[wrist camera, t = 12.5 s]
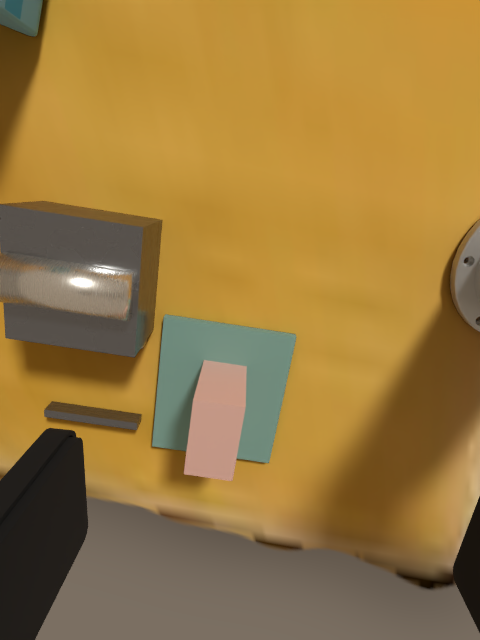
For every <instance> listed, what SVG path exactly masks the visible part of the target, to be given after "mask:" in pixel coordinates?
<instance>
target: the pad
mask: <svg viewBox="0 0 480 640" xmlns="http://www.w3.org/2000/svg"><path fill="white" fill-rule="evenodd" d="M295 341H296V335H295V334H291V333H284V332H278V331H271V330H264V329H258V328H251V327H245V326H238V325H232V324H225V323H219V322H212V321H206V320H199V319H193V318H186V317H179V316H173V315H165V316H164V320H163V331H162V342H161V353H160V364H159V375H158V386H157V398H156V409H155V420H154V431H153V442H152V446H154V447H161V448H168V449H175V450H182V451H187V444H188V436H189V428H190V420H191V412H192V404H193V398H194V395H195V391H196V387H197V384H198V380H199V376H200V373H201V369H202V365H203V362H204V360H208V361H215V362H221V363H228V364H235V365H241V366H247V374H246V408H245V414H244V419H243V425H242V430H241V436H240V441H239V447H238V453H237V459H244V460H251V461H258V462H265V463H269V460H270V456H271V451H272V447H273V442H274V437H275V433H276V428H277V424H278V419H279V414H280V410H281V405H282V401H283V396H284V391H285V387H286V382H287V378H288V373H289V369H290V364H291V359H292V355H293V350H294V346H295Z"/></svg>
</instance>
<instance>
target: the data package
mask: <svg viewBox="0 0 480 640" xmlns="http://www.w3.org/2000/svg"><path fill="white" fill-rule="evenodd" d="M42 3H43V0H0V24H1V25H4V26H6V27H9V28H11V29H13V30H16V31H18V32H21V33H23V34H26V35H29V36H36V35H37V34H38V28H39V21H40V15H41V9H42Z"/></svg>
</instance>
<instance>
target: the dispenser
mask: <svg viewBox="0 0 480 640" xmlns="http://www.w3.org/2000/svg"><path fill="white" fill-rule="evenodd" d="M161 230H162V220H160V219H153V218H147V217H141V216H134V215H128V214H122V213H116V212H109V211H103V210H97V209H90V208H84V207H78V206H71V205H65V204H59V203H53V202H46V201H36V202H22V203H8V204H0V250H1V253H0V302H3V303H4V319H5V336H6V338H8V339H15V340H22V341H28V342H35V343H42V344H48V345H55V346H62V347H68V348H75V349H82V350H89V351H95V352H102V353H109V354H115V355H122V356H129V357H135V356H136V355H137V353H138V352H139V350H140V349H141V348H143V347H144V346H145V344H146V343H147V339H148V337H149V336H150V334H151V333H152V331H153V328H154V316H155V304H156V291H157V279H158V267H159V255H160V242H161ZM44 417H50V418H57V419H64V420H71V421H77V422H84V423H91V424H98V425H105V426H112V427H119V428H126V429H132V430H137V429H138V426H139V424H140V422H141V414H135V413H128V412H121V411H114V410H107V409H101V408H94V407H87V406H80V405H73V404H66V403H60V402H53V401H52V402H51V403H50V404H49V405H48V406H47V407H46V408H45V410H44Z"/></svg>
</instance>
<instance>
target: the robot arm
mask: <svg viewBox="0 0 480 640" xmlns="http://www.w3.org/2000/svg"><path fill="white" fill-rule="evenodd" d="M465 258H466V260H465V262H464V259H465ZM450 290H451V295H452V299H453V302H454V305H455V307H456V309H457V311H458V313H459V314H460V315H461V317H462V318H463V319H464V320H465V322H466V323H468V324H469V325H470V326H471V327H473V328H474V329H475V330H477V331H479V332H480V220H478V221H477V222H476V224H475V225H474V226H473V227H472V228H471V229H470V231H469V232H468V233H467V234H466V236H465V238H464V239H463V241H462V242H461V244H460V246H459V247H458V250H457V252H456V255H455V258H454V260H453V264H452V269H451V274H450ZM87 529H88V516H87V501H86V485H85V469H84V454H83V441H82V439H81V438H77V437H76V433H75V432H74V431H72V430H63V429H54V428H49V429H46V430H45V431H44V432H43V433H42V434H41V435H40V437H39V438H38V439H37V440H36V441H35V442H34V443H33V444H32V446H31V447H30V448H29V449H28V450H27V451H26V452H25V453H24V455H23V456H22V457H21V458H20V459H19V460H18V461H17V462H16V464H15V465H14V466H13V467H12V468H11V469H10V470H9V471H8V473H7V474H6V475H5V476H4V477H3V478H2V479H1V481H0V640H35V638H36V636H37V634H38V632H39V630H40V628H41V626H42V624H43V622H44V620H45V618H46V616H47V614H48V612H49V610H50V608H51V606H52V604H53V602H54V600H55V598H56V596H57V594H58V592H59V590H60V588H61V586H62V584H63V582H64V580H65V578H66V576H67V574H68V572H69V570H70V568H71V566H72V564H73V562H74V560H75V558H76V556H77V554H78V552H79V550H80V548H81V546H82V544H83V542H84V540H85V537H86V534H87ZM453 575H454V579H455V583H456V585H457V587H458V589H459V591H460V593H461V595H462V597H463V599H464V601H465V604H466V605H467V608H468V610H469V611H470V614H471V616H472V618H473V620H474V622H475V624H476V626H477V628H478V630H479V632H480V497H479V499H478V502H477V505H476V507H475V510H474V512H473V515H472V518H471V520H470V523H469V526H468V528H467V531H466V534H465V536H464V539H463V542H462V544H461V547H460V550H459V552H458V555H457V558H456V560H455V563H454V566H453Z"/></svg>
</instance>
